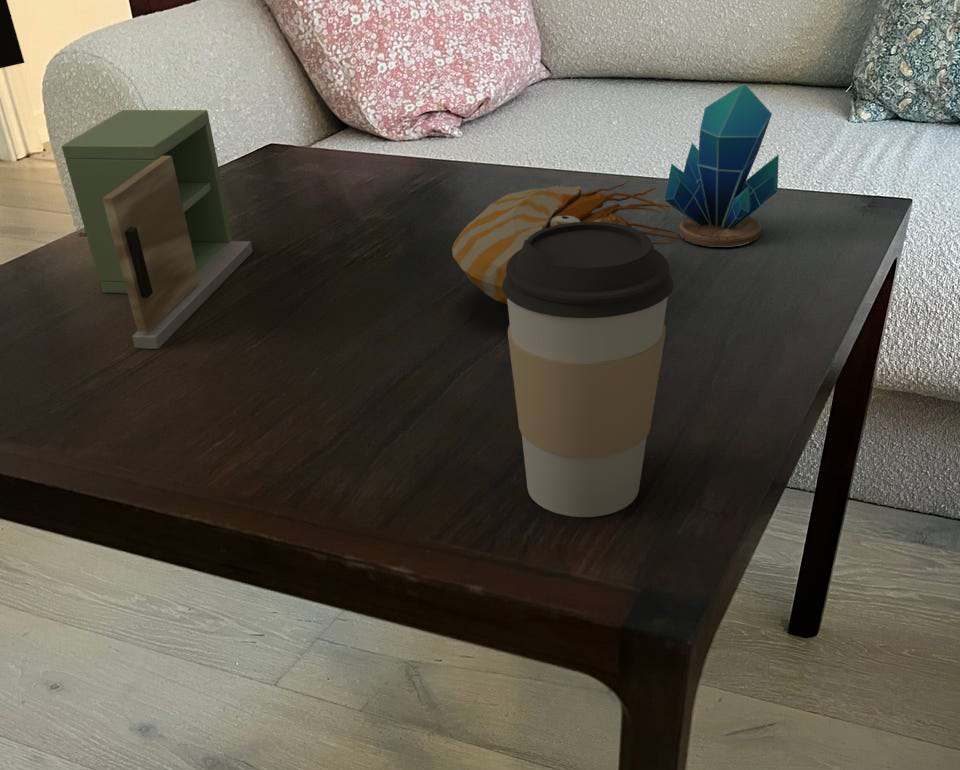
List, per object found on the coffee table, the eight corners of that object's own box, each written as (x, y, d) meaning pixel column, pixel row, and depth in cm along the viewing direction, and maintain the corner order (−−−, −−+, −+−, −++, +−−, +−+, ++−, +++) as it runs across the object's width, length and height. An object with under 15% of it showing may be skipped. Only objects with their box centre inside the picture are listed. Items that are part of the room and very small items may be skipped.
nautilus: (638, 244, 96) (733, 310, 85) (419, 277, 88) (495, 352, 78) (650, 152, 90) (753, 210, 80) (418, 179, 83) (500, 246, 73)
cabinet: (41, 344, 83) (-11, 187, 76) (155, 247, 99) (122, 109, 92) (158, 349, 82) (117, 188, 74) (255, 250, 98) (229, 109, 90)
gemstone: (691, 215, 100) (702, 75, 92) (777, 230, 95) (797, 84, 88) (654, 240, 95) (663, 94, 87) (743, 256, 91) (761, 105, 83)
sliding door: (137, 331, 81) (101, 198, 75) (190, 280, 89) (162, 155, 83) (153, 332, 81) (118, 198, 75) (204, 281, 89) (177, 155, 82)
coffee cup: (620, 437, 68) (631, 197, 58) (684, 508, 61) (709, 250, 52) (488, 465, 66) (477, 221, 56) (539, 541, 59) (537, 279, 50)
